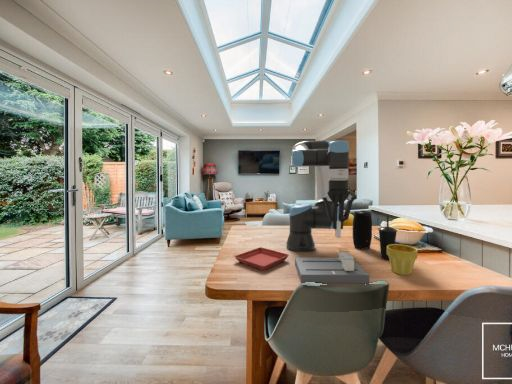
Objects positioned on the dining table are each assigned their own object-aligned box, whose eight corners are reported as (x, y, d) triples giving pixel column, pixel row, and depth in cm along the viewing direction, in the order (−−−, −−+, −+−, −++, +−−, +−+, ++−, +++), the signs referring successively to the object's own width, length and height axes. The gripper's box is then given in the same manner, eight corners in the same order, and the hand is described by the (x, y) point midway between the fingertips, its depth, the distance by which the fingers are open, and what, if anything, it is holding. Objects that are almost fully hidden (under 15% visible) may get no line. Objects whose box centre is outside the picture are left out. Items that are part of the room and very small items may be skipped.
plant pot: (407, 279, 86) (407, 253, 85) (380, 269, 95) (381, 246, 95) (422, 273, 91) (423, 249, 90) (396, 265, 100) (396, 242, 99)
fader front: (345, 270, 86) (345, 258, 85) (341, 266, 90) (341, 255, 90) (353, 270, 86) (354, 258, 85) (350, 266, 90) (350, 255, 89)
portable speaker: (373, 250, 120) (373, 212, 119) (353, 249, 123) (353, 212, 122) (369, 246, 128) (370, 210, 127) (351, 245, 131) (351, 210, 130)
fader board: (300, 282, 84) (300, 274, 84) (295, 264, 102) (295, 257, 102) (369, 283, 83) (369, 274, 83) (351, 264, 101) (351, 257, 101)
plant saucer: (263, 273, 94) (263, 265, 94) (233, 263, 106) (233, 255, 106) (289, 261, 107) (289, 254, 107) (260, 253, 119) (260, 247, 119)
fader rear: (341, 262, 95) (341, 251, 94) (338, 258, 99) (338, 248, 98) (349, 262, 94) (349, 251, 94) (345, 258, 99) (345, 248, 98)
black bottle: (399, 261, 104) (400, 217, 103) (380, 260, 105) (381, 216, 104) (393, 256, 111) (393, 214, 110) (375, 255, 113) (376, 214, 112)
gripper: (324, 180, 91) (323, 239, 93) (358, 179, 91) (357, 239, 93) (320, 179, 99) (319, 234, 101) (351, 179, 98) (350, 234, 100)
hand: (337, 236), depth 97 cm, fingers closed
